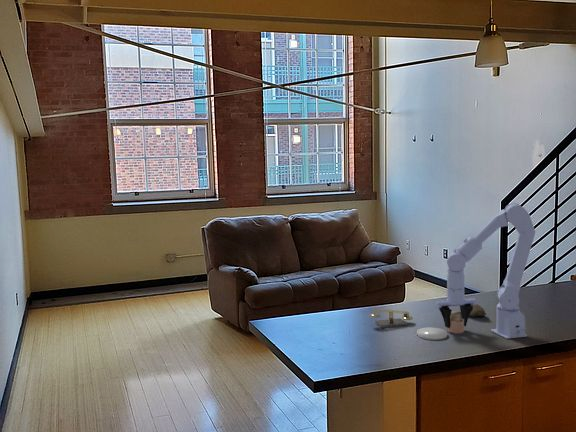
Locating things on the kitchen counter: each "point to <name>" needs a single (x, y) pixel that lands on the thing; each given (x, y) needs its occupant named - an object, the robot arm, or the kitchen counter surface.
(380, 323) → the balance
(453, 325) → the sleeve
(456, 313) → the peg
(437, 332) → the white glossy domed part
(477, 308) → the fossil
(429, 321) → the kitchen counter surface
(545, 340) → the kitchen counter surface
